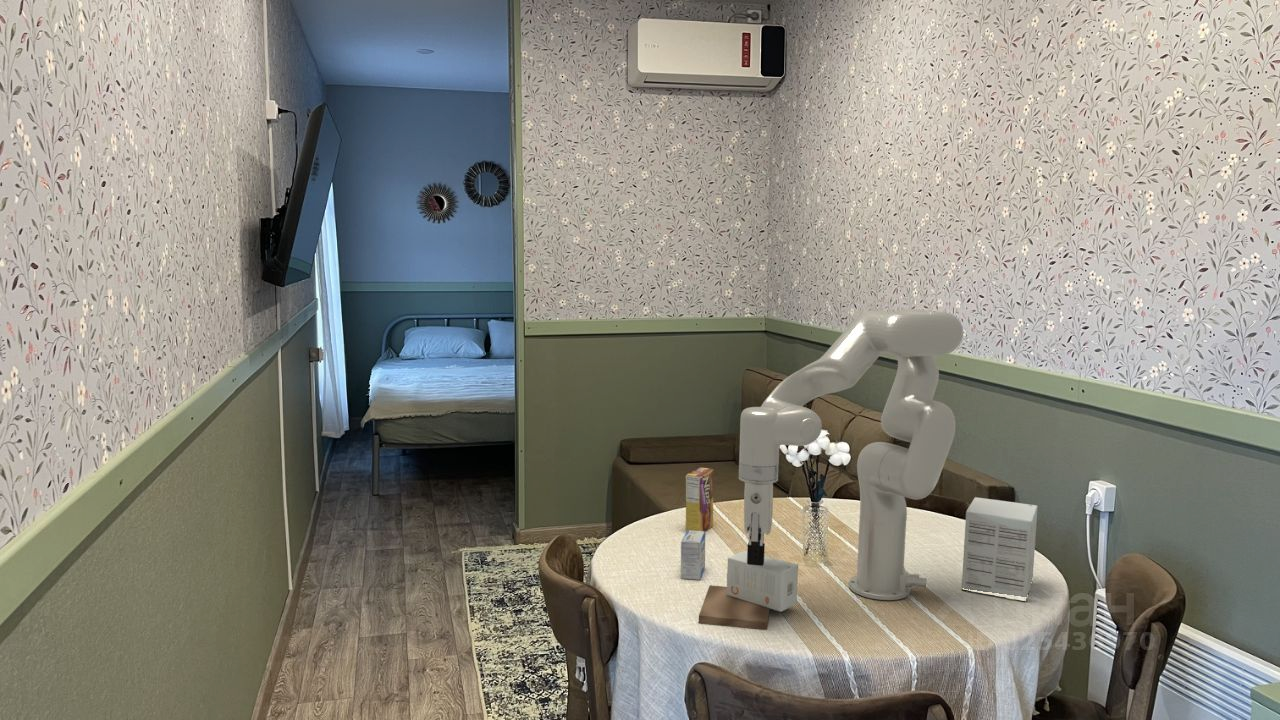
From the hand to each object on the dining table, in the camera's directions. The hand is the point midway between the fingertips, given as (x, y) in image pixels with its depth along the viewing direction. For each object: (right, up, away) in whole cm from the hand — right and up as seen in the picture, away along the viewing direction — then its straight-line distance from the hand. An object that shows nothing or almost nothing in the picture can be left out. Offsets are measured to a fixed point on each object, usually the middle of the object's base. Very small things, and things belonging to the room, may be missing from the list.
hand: (755, 563), depth 175 cm
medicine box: (-11, -8, +24) cm, 27 cm away
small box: (+7, -5, +1) cm, 9 cm away
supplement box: (+54, -9, +19) cm, 58 cm away
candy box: (-7, -4, +55) cm, 55 cm away
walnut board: (-3, -10, +4) cm, 11 cm away
